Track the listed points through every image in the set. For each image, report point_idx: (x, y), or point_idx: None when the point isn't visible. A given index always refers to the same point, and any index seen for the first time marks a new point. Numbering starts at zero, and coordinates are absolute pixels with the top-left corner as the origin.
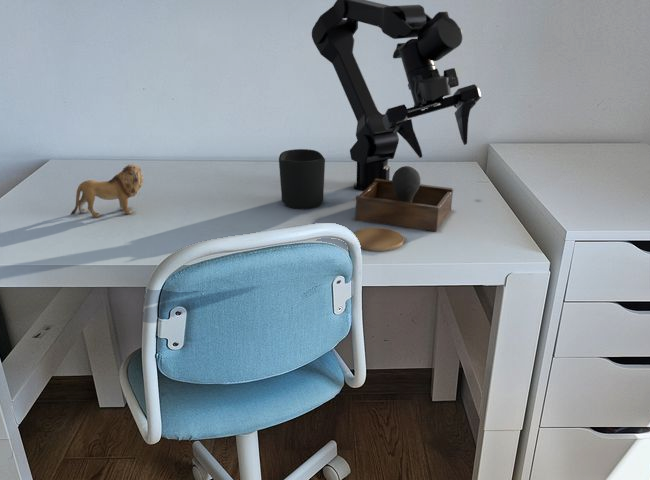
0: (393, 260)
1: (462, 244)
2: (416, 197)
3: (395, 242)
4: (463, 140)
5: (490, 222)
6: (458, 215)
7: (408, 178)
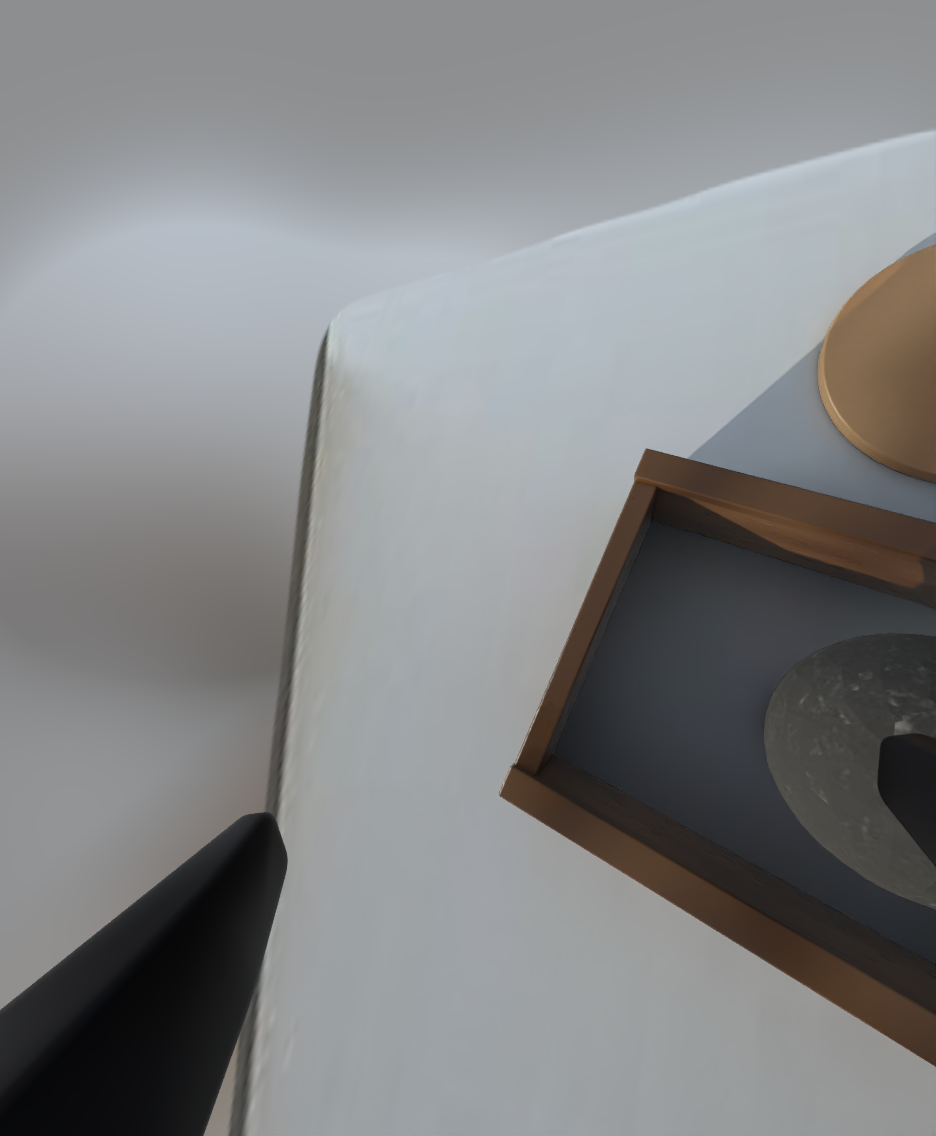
0: (872, 182)
1: (553, 384)
2: (728, 869)
3: (870, 311)
4: (256, 885)
5: (398, 610)
6: (505, 700)
7: (931, 647)
